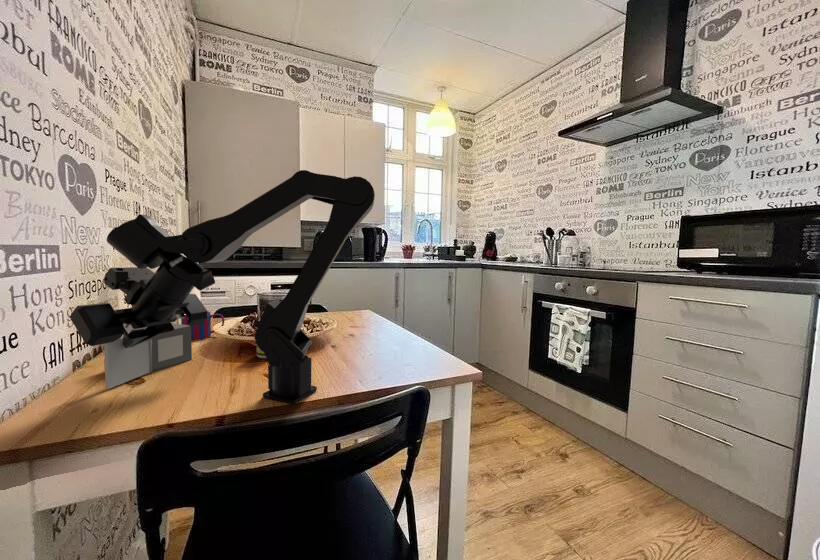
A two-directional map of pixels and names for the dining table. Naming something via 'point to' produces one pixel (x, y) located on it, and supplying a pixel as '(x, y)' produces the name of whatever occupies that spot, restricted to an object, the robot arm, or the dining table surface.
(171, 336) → the camera body
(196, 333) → the mug
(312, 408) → the dining table surface
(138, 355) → the side door
